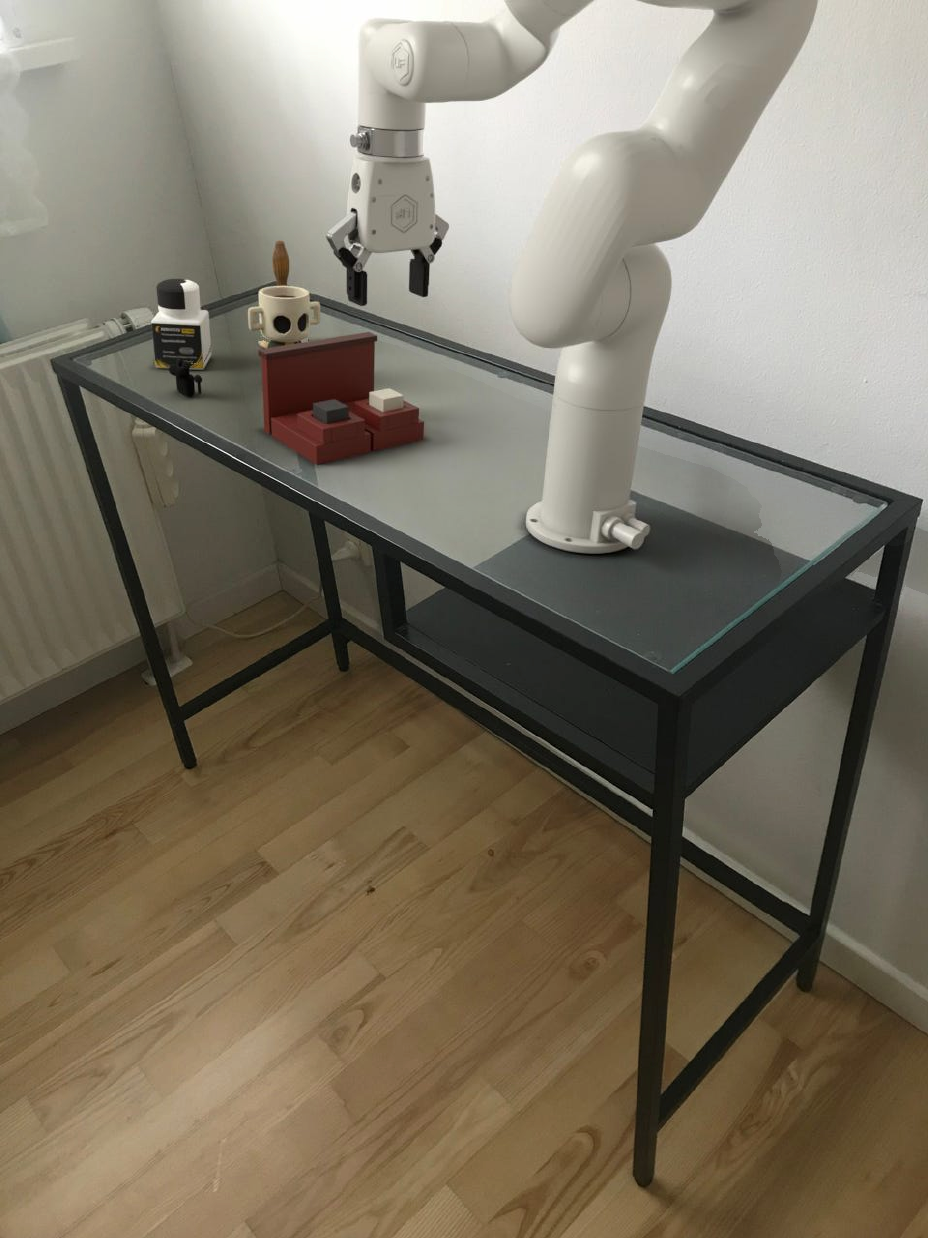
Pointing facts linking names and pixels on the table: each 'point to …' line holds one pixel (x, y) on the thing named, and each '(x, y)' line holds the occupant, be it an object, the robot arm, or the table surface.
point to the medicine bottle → (180, 325)
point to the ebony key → (330, 411)
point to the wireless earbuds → (185, 378)
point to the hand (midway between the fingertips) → (388, 298)
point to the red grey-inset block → (322, 436)
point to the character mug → (284, 315)
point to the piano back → (316, 374)
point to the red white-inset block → (389, 424)
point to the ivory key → (386, 400)
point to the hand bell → (279, 270)
